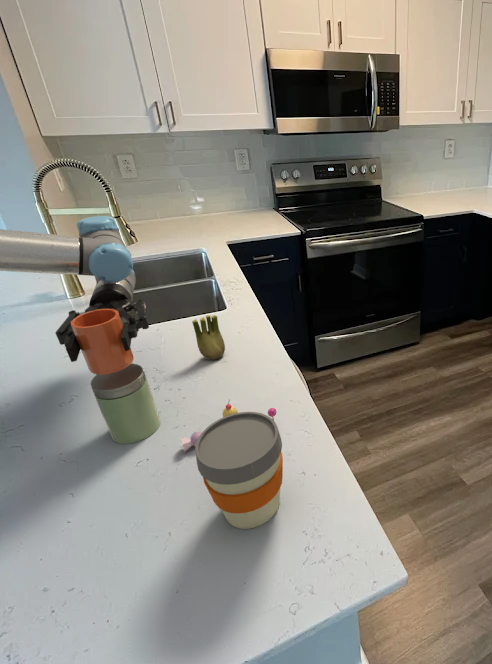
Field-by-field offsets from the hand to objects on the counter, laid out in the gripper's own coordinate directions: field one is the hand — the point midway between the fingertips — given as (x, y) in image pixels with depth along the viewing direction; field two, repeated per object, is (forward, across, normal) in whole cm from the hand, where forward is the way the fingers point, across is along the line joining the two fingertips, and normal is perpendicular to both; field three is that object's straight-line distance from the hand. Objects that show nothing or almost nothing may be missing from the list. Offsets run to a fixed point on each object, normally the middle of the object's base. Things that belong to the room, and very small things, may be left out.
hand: (98, 349), depth 74 cm
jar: (-3, 0, -21) cm, 22 cm away
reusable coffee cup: (+26, -19, -22) cm, 39 cm away
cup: (-5, 0, -6) cm, 8 cm away
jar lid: (-3, 0, -9) cm, 9 cm away
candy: (+6, -18, -22) cm, 29 cm away
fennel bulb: (-25, -18, -22) cm, 38 cm away
